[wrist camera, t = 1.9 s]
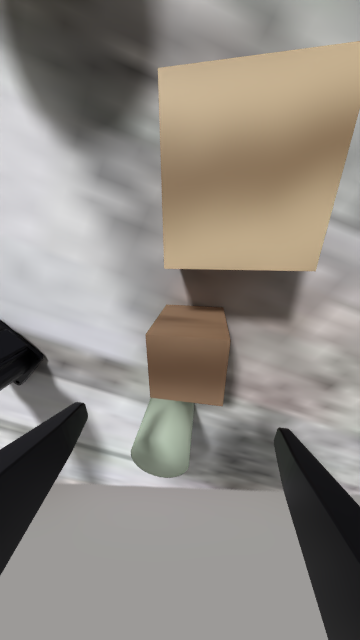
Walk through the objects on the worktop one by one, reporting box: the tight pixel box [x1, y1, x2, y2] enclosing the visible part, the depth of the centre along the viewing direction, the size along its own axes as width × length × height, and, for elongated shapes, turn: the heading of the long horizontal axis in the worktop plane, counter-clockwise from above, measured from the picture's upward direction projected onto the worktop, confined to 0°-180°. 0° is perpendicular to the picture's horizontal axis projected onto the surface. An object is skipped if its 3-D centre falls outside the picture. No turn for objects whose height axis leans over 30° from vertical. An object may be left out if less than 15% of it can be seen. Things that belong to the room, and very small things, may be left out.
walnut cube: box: [146, 305, 231, 406], centre depth 14 cm, size 5×5×6 cm
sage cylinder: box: [131, 398, 194, 478], centre depth 18 cm, size 5×5×6 cm
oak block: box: [158, 41, 360, 271], centre depth 11 cm, size 8×8×5 cm
